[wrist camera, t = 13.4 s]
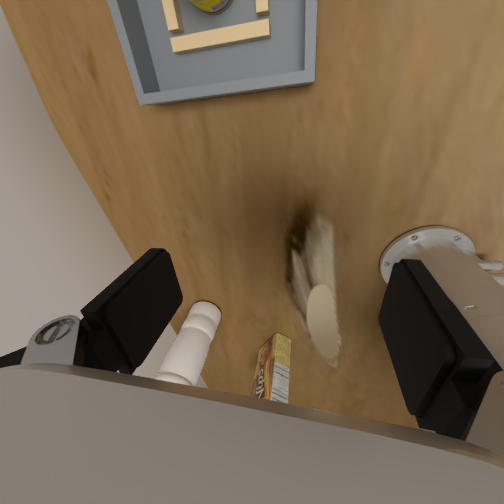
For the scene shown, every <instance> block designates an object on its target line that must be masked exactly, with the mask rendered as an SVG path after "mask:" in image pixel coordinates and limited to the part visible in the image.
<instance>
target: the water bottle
mask: <svg viewBox="0 0 504 504" xmlns="http://www.w3.org/2000/svg"><path fill="white" fill-rule="evenodd" d="M220 319H221V312H220V310H219V309H218V308H217V307H216V306H215V305H214V304H212V303H210V302H206V301H200V302H197V303H195V304H194V305H193V306H192V308H191V310H190V312H189V314H188V317H187V319H186V320H185V321H184V323H183V325H182V327H181V331H180V333H179V334H178V336H177V337H176V339H175V341H174V342H173V344H172V346H171V348H170V350H169V352H168V354H167V355H166V357H165V360H164V361H163V364H162V366H161V368H160V371H159V373H158V375H157V376H156V377H155V378H154V379H157V380H163V381H168V382H174V383H179V384H185V385H190V386H195V384H196V382H197V380H198V378H199V375H200V373H201V370H202V368H203V365H204V362H205V360H206V357H207V354H208V350H209V347H210V343H211V342H212V340H213V338H214V335H215V332H216V328H217V326H218V324H219V322H220Z"/></svg>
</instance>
